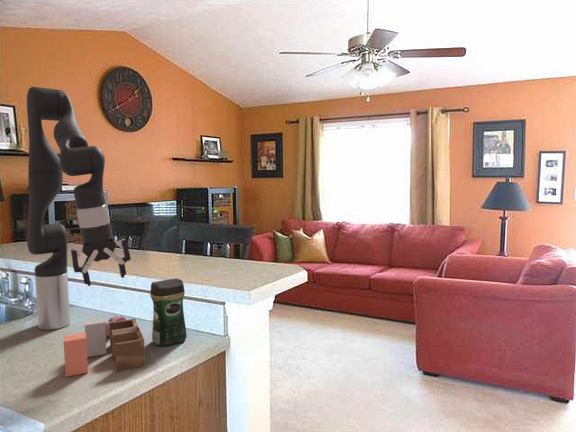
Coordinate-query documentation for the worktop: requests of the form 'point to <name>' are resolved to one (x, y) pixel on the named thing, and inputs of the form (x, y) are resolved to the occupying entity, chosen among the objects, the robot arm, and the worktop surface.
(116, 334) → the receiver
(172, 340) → the coffee jar
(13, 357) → the worktop surface
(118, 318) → the video game controller
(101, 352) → the light grey block
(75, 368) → the salmon orange block
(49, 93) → the robot arm
